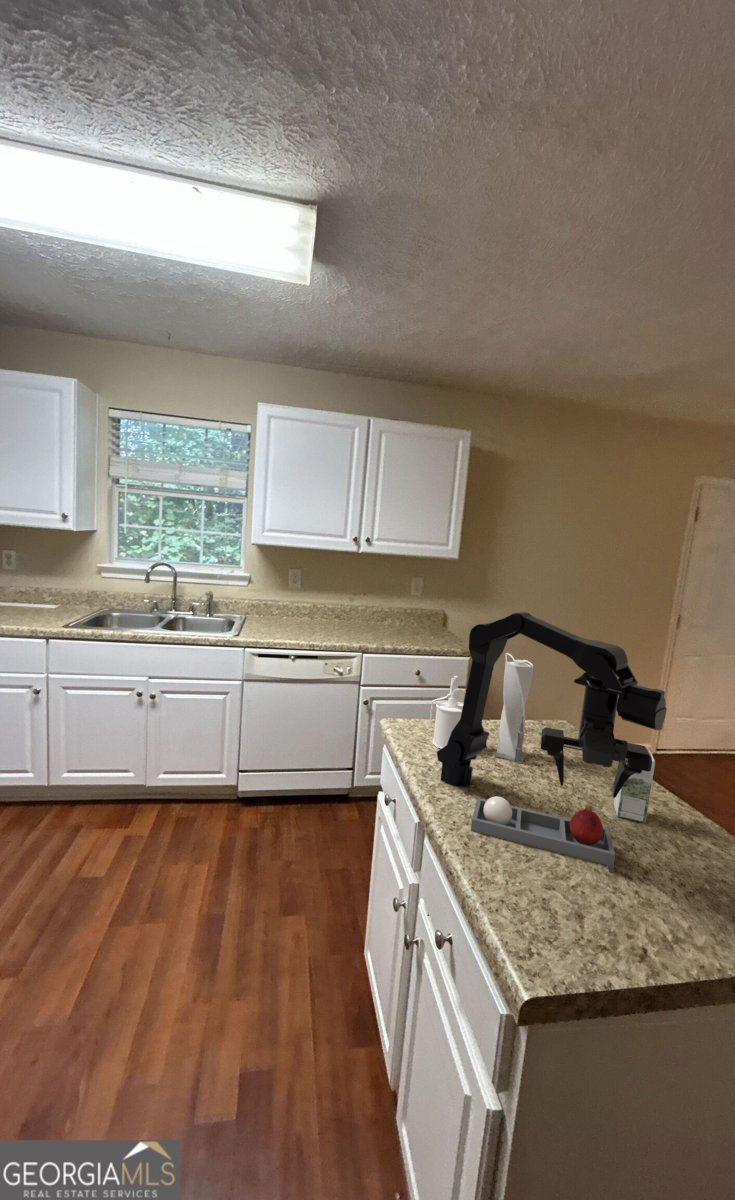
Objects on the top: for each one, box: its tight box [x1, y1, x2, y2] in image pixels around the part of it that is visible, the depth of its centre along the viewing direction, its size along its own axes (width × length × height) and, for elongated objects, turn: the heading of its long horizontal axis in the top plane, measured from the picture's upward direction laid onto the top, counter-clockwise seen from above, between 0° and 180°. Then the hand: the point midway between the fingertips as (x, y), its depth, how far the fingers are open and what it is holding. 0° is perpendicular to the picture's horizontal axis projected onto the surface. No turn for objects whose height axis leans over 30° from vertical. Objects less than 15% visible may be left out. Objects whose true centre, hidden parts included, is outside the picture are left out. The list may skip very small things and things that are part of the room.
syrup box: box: [613, 750, 656, 823], centre depth 110 cm, size 6×6×14 cm
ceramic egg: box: [483, 795, 512, 825], centre depth 101 cm, size 6×6×6 cm
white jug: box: [429, 675, 466, 750], centre depth 141 cm, size 10×9×20 cm
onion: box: [570, 804, 604, 846], centre depth 95 cm, size 6×6×8 cm
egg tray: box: [470, 797, 616, 874], centre depth 98 cm, size 25×9×4 cm, turn 71°
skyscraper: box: [494, 652, 534, 765], centre depth 137 cm, size 8×8×28 cm
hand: (587, 790), depth 96 cm, fingers open, 9 cm apart
